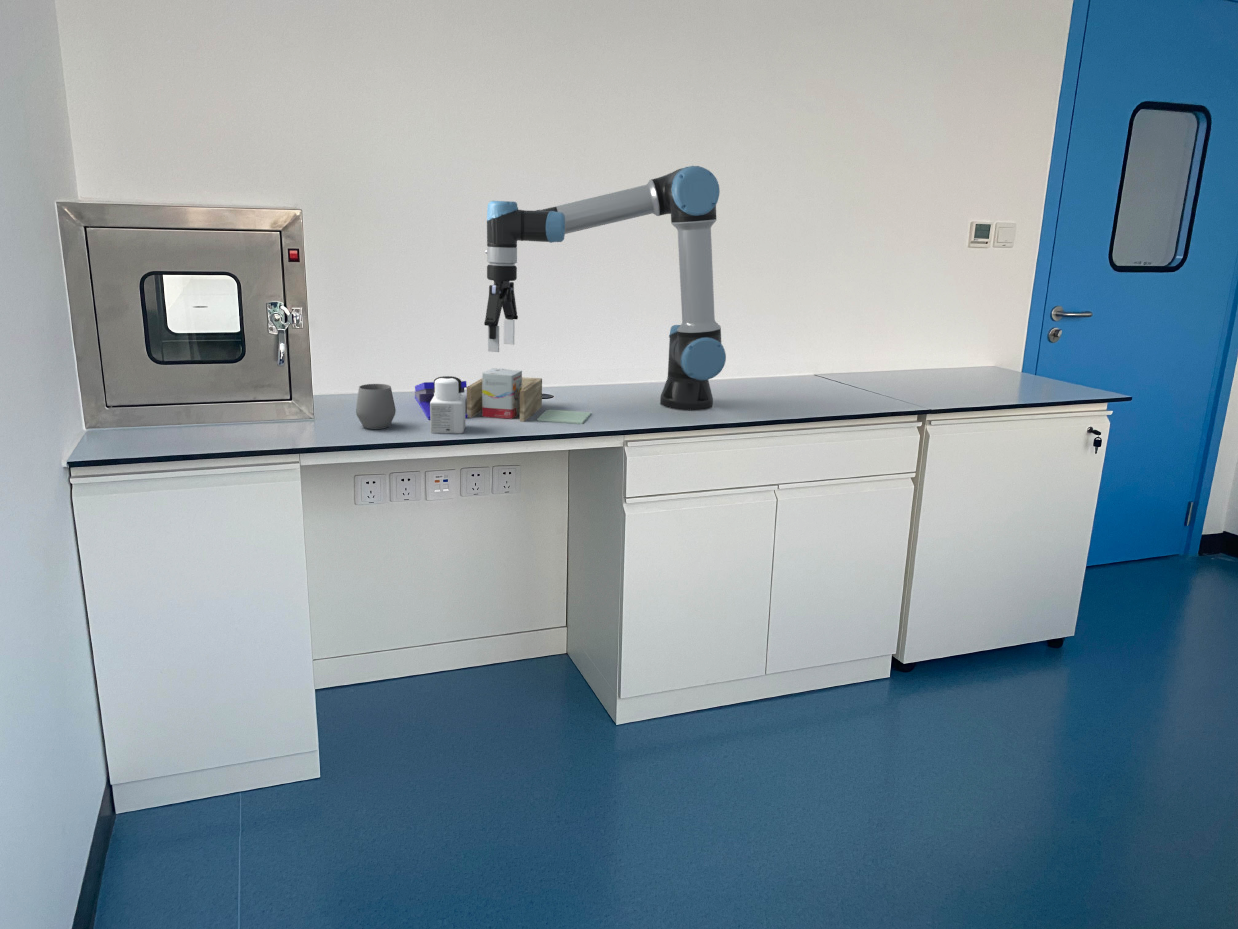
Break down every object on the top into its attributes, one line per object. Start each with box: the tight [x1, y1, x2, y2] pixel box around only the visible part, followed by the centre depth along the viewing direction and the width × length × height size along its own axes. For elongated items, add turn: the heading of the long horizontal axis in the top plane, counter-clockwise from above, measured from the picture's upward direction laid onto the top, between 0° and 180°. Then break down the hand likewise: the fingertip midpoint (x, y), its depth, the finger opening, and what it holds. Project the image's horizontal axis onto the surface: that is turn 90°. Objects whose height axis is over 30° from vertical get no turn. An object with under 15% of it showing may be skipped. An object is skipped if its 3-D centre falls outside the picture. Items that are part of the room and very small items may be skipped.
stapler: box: [414, 380, 468, 421], centre depth 237 cm, size 12×28×10 cm, turn 20°
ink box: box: [481, 367, 523, 420], centre depth 231 cm, size 9×9×12 cm
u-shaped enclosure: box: [466, 376, 543, 422], centre depth 235 cm, size 15×18×8 cm
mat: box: [536, 409, 592, 425], centre depth 232 cm, size 12×12×1 cm
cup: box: [355, 383, 397, 430], centre depth 214 cm, size 10×9×10 cm
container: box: [429, 375, 467, 434], centre depth 214 cm, size 8×8×13 cm
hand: (501, 347), depth 228 cm, fingers open, 13 cm apart
